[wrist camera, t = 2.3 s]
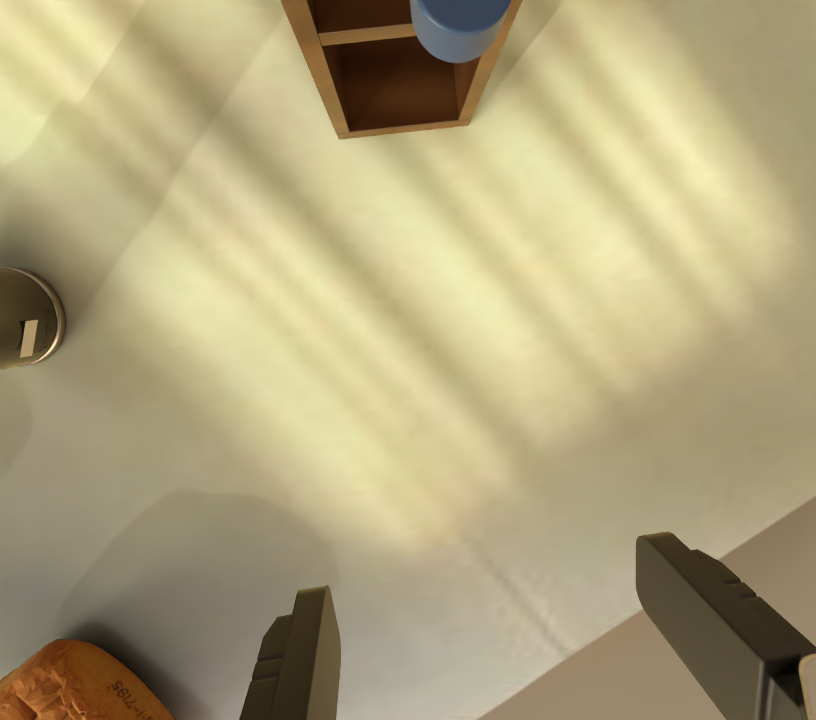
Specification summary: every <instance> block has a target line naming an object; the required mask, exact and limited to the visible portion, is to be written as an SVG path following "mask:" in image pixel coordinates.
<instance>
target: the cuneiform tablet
mask: <svg viewBox="0 0 816 720" xmlns="http://www.w3.org/2000/svg"><path fill="white" fill-rule="evenodd" d="M0 720H175V719H174V718H173V716H172V715H171V714H170V712H169V711H168V710H167V709H166V707H165V706H164V705H163V704H162V703H161V702H160V701H159V700H158V699H157V698H156V696H155V695H154V694H153V693H152V692H151V691H150V690H149V689H148V687H147V686H146V685H145V684H144V683H143V682H142V681H141V680H140V679H139V678H138V677H137V676H136V675H135V674H134V673H133V672H132V671H130V670H129V669H128V668H127V667H125V666H124V665H123V664H122V663H121V662H120V661H119V660H117V659H116V658H114V657H113V656H112V655H110V654H109V653H107V652H105V651H104V650H102V649H101V648H99V647H97V646H95V645H92V644H90V643H87V642H83V641H79V640H71V639H59V640H55V641H53V642H51V643H49V644H47V645H46V646H45V647H44V648H42V649H41V650H40V651H38V652H37V653H36V654H35V655H33V656H32V657H31V658H30V659H28V660H27V661H26V662H25V663H23V664H22V665H21V666H19V667H18V668H16V669H15V670H13V671H12V672H10V673H9V674H8V675H7V676H5V677H4V678H2V679H1V680H0Z"/></svg>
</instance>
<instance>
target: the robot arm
mask: <svg viewBox="0 0 816 720" xmlns="http://www.w3.org/2000/svg"><path fill="white" fill-rule="evenodd" d="M64 332H65V315H64V310H63V307H62V305H61V302H60V300H59V298H58V297H57V295H56V293H55V292H54V291H53V290H52V288H51V287H50V286H49V285H48V284H47V283H46V282H45V281H43V280H42V279H41V278H39V277H38V276H36V275H35V274H33V273H30V272H28V271H26V270H22V269H18V268H11V267H0V370H3V369H8V368H13V367H22V366H27V365H32V364H36V363H39V362H41V361H44V360H45V359H47V358H48V357H50V356H51V355H52V354H53V353H54V352H55V351H56V350H57V349H58V347H59V346H60V344H61V342H62V339H63V336H64ZM636 590H637V594H638V597H639V600H640V602H641V605H642V607H643V609H644V610H645V612H646V613H647V615H648V616H649V617H650V619H651V620H652V621H653V623H654V624H655V625H656V627H657V628H658V629H659V630H660V632H661V633H662V635H663V636H664V637H665V639H666V640H667V641H668V643H669V644H670V645H671V647H672V648H673V649H674V650H675V652H676V653H677V655H678V656H679V657H680V658H681V660H682V661H683V663H684V664H685V665H686V666H687V668H688V669H689V671H690V672H691V673H692V674H693V676H694V677H695V678H696V680H697V681H698V682H699V684H700V685H701V686H702V688H703V689H704V690H705V692H706V693H707V694H708V696H709V697H710V698H711V700H712V701H713V702H714V703H715V705H716V706H717V708H718V709H719V710H720V712H721V713H722V714H723V716H724V717H725V718H726V719H727V720H816V647H815V646H814V645H813V644H812V643H811V642H810V641H809V640H807V639H806V638H805V637H804V636H803V635H802V634H801V633H800V632H798V630H796V629H795V628H794V627H793V626H792V625H791V624H790V623H789V622H787V621H786V620H785V619H784V618H783V617H782V616H781V615H779V614H778V613H777V612H776V611H775V610H774V609H773V608H772V607H771V606H769V605H768V604H767V603H766V602H765V601H764V600H763V599H762V598H761V597H757V596H756V593H755V592H754V591H753V590H752V589H750V588H749V587H748V586H747V585H746V584H745V583H742V582H741V581H740V579H739V578H738V577H737V576H736V575H735V574H734V573H733V572H732V571H730V570H729V569H728V568H727V567H726V566H725V565H724V564H723V563H721V562H720V561H718V560H716V559H714V558H712V557H711V556H709V555H707V554H705V553H703V552H701V551H699V550H698V549H696V550H690V549H689V548H688V547H687V546H685V545H684V544H683V543H682V542H681V541H680V540H679V539H678V538H677V537H676V536H675V535H674V534H672V533H671V532H662V533H655V534H649V535H643V536H639V537H638V538H637V540H636ZM257 659H258V661H257V663H256V665H255V668H254V672H253V675H252V681H251V682H250V685H249V689H248V692H247V695H246V699H245V702H244V706H243V709H242V713H241V716H240V719H239V720H336V713H337V701H338V689H339V678H340V666H341V644H340V635H339V630H338V625H337V620H336V615H335V610H334V605H333V601H332V596H331V591H330V588H329V586H328V585H327V586H321V587H315V588H309V589H303V590H299V591H298V593H297V596H296V600H295V604H294V609H293V613H292V615H287V616H280V617H277V618H276V620H275V621H274V623H273V624H272V626H271V627H270V628H269V630H268V631H267V633H266V634H265V636H264V637H263V641H262V644H261V648H260V651H259V654H258V658H257Z"/></svg>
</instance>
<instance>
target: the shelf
mask: <svg viewBox="0 0 816 720" xmlns="http://www.w3.org/2000/svg"><path fill="white" fill-rule="evenodd" d="M281 3H282V5H283V7H284V10H285V12H286V15H287V17H288V19H289V22H290V24H291V27H292V29H293V31H294V34H295V36H296V38H297V41H298V43H299V46H300V48H301V50H302V53H303V55H304V58H305V60H306V62H307V65H308V67H309V70H310V72H311V74H312V77H313V79H314V81H315V84H316V86H317V89H318V91H319V93H320V96H321V98H322V101H323V103H324V105H325V108H326V110H327V112H328V115H329V117H330V120H331V122H332V124H333V127H334V129H335V132H336V134H337V136H338V138H339V139H346V138H356V137H365V136H374V135H383V134H393V133H402V132H411V131H420V130H430V129H439V128H448V127H457V126H467V125H469V123H470V121H471V119H472V117H473V114H474V112H475V110H476V107H477V105H478V103H479V100H480V98H481V96H482V93H483V91H484V89H485V86H486V84H487V82H488V79H489V77H490V75H491V72H492V70H493V68H494V66H495V63H496V61H497V59H498V56H499V54H500V52H501V49H502V47H503V45H504V42H505V40H506V38H507V35H508V33H509V31H510V28H511V26H512V24H513V21H514V19H515V17H516V14H517V12H518V10H519V7H520V5H521V3H522V0H512V1H511V4H510V6H509V9H508V12H507V14H506V17H505V19H504V22H503V24H502V27H501V29H500V32H499V34H498V36H497V38H496V40H495V41H494V43H493V44H492V46H491V47H490V48H489V49H488V50H487V51H486V52H485V53H483V54H482V55H481V56H479V57H477V58H475V59H473V60H470V61H467V62H462V63H451V62H446V61H443V60H441V59H438V58H437V57H435V56H433V55H432V54H431V53H429V52H428V51H427V50H426V49H425V48H424V47H423V45H422V44H421V42H420V41H419V39H418V37H417V35H416V33H415V31H414V27H413V24H412V18H411V8H410V0H281Z"/></svg>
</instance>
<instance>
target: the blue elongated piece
mask: <svg viewBox="0 0 816 720" xmlns="http://www.w3.org/2000/svg"><path fill="white" fill-rule="evenodd" d="M511 1H512V0H410V8H411V18H412V24H413V27H414V31H415V33H416V35H417V37H418V39H419V41H420V42H421V44H422V45H423V47H424V48H425V49H426V50H427V51H428V52H429V53H431V54H432V55H433V56H435V57H437V58H438V59H441V60H443V61H446V62H451V63H462V62H467V61H470V60H473V59H475V58H477V57H479V56H481V55H482V54H483V53H485V52H486V51H487V50H488V49H489V48H490V47H491V46H492V44H493V43H494V41H495V40H496V38H497V36H498V34H499V32H500V29H501V27H502V24H503V22H504V19H505V17H506V14H507V12H508V9H509V6H510V4H511Z"/></svg>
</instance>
